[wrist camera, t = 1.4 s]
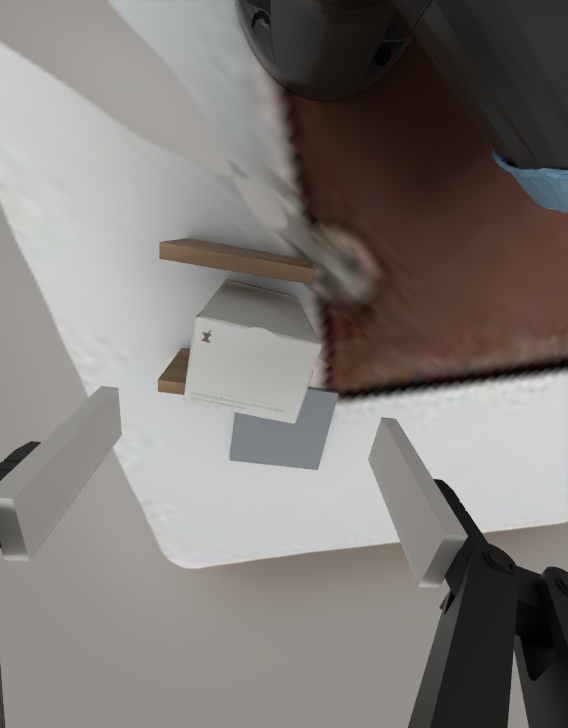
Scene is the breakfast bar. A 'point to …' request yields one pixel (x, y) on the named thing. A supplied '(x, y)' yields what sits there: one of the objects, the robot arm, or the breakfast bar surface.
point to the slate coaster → (286, 434)
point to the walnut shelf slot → (227, 260)
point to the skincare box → (251, 353)
